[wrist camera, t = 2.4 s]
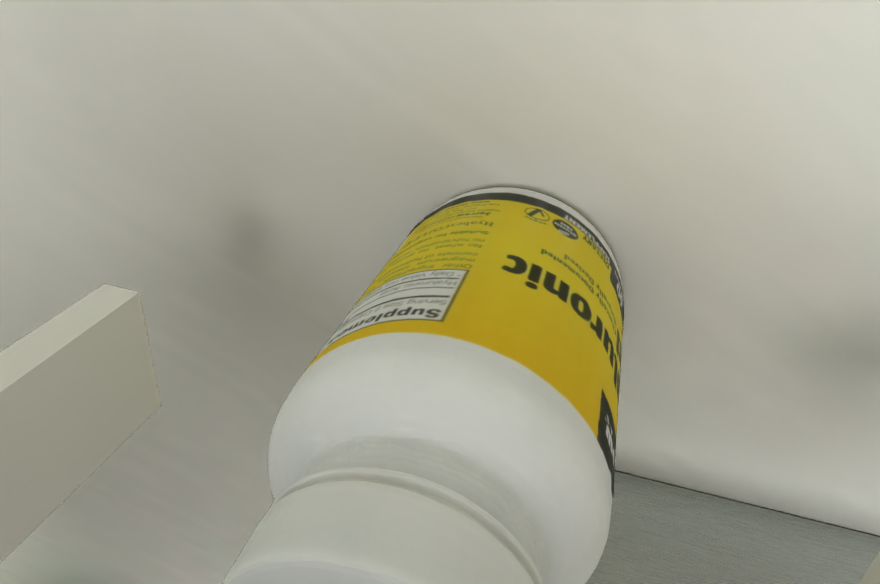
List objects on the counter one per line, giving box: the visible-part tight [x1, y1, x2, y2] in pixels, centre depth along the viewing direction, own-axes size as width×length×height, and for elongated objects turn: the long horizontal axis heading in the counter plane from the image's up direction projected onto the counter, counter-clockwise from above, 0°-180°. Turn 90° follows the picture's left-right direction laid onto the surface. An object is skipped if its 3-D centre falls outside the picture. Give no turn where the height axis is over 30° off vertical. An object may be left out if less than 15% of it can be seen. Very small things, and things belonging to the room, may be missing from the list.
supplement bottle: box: [222, 187, 624, 584], centre depth 12 cm, size 5×5×10 cm
